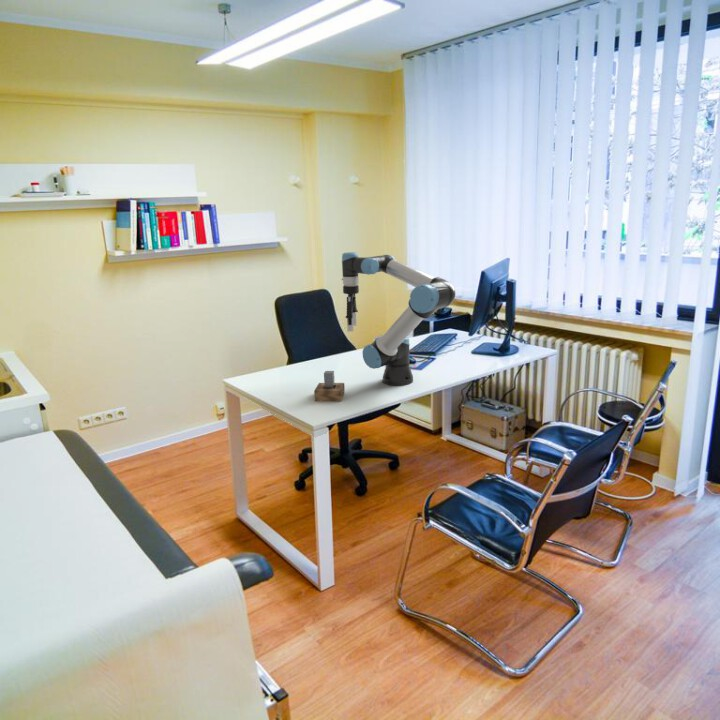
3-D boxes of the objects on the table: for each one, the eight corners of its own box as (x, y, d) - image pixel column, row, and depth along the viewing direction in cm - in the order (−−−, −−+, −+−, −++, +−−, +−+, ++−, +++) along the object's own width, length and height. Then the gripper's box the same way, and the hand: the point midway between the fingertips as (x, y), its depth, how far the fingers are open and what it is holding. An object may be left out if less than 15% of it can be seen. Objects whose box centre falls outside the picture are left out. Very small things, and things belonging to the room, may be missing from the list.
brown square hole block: (344, 393, 275) (344, 382, 273) (341, 401, 263) (340, 390, 262) (319, 392, 276) (318, 382, 275) (314, 401, 265) (314, 390, 263)
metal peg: (335, 395, 271) (333, 370, 268) (333, 398, 268) (332, 373, 264) (326, 395, 272) (325, 370, 269) (325, 398, 268) (323, 373, 265)
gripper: (346, 281, 294) (347, 323, 299) (339, 288, 270) (341, 333, 275) (361, 281, 293) (362, 323, 298) (355, 288, 269) (356, 333, 274)
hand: (352, 328), depth 287 cm, fingers open, 13 cm apart
